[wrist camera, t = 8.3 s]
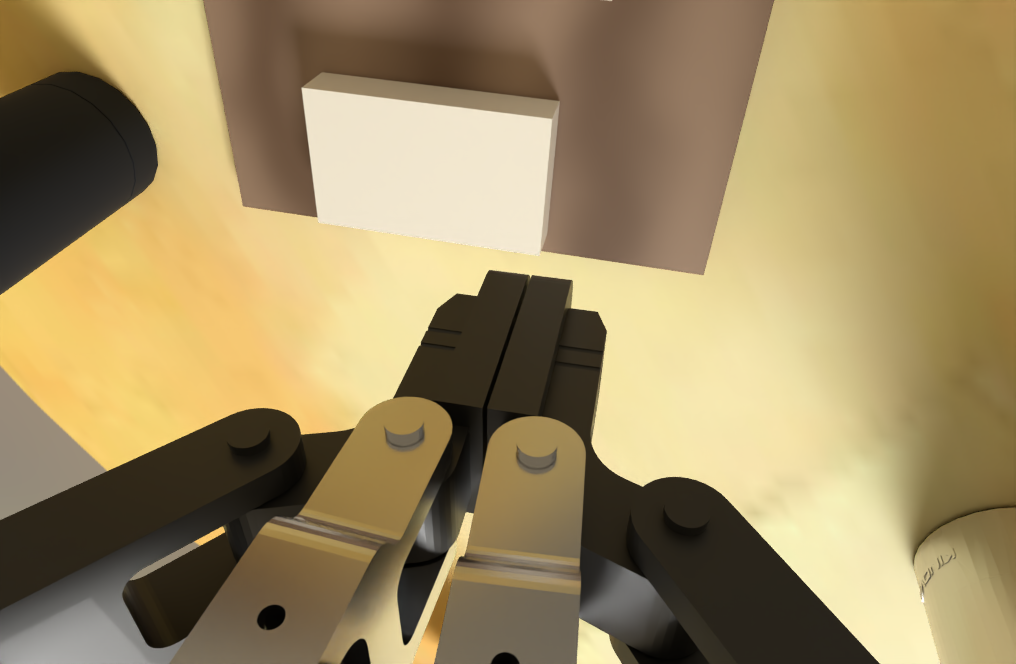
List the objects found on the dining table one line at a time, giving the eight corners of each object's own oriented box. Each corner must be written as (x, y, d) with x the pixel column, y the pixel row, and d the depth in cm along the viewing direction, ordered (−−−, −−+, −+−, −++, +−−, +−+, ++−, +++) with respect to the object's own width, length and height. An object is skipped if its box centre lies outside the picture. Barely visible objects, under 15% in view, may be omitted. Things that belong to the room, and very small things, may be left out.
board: (852, -330, 21) (860, -336, 20) (703, 261, 33) (703, 275, 32) (155, -358, 24) (133, -365, 23) (254, 195, 36) (243, 206, 35)
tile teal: (552, 118, 27) (301, 87, 28) (539, 255, 31) (318, 222, 32) (560, 100, 29) (323, 71, 30) (547, 232, 32) (336, 201, 34)
